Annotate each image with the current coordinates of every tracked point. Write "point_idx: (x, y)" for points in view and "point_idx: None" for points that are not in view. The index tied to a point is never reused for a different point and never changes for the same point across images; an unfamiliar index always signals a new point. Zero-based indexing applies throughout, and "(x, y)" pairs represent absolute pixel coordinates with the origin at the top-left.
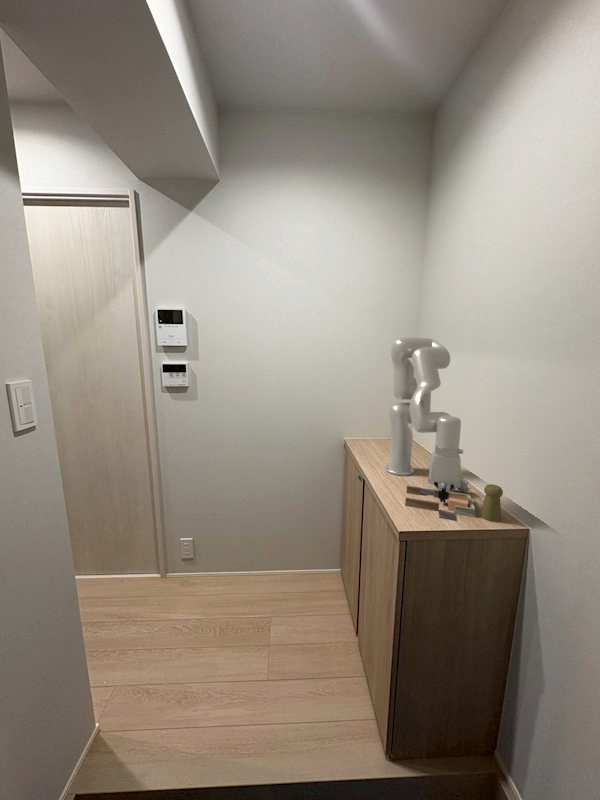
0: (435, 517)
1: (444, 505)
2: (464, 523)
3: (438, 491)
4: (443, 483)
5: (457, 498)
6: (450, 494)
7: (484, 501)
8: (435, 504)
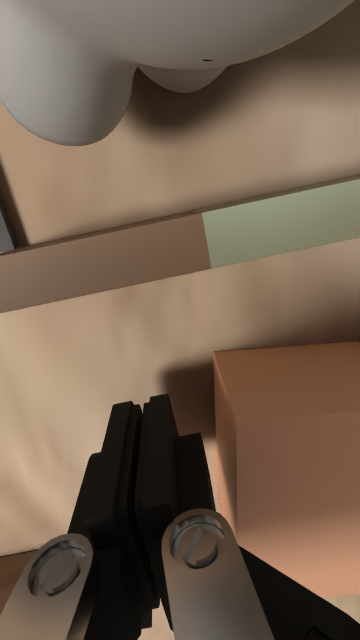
0: (152, 634)
1: (179, 430)
2: (340, 609)
3: (49, 301)
4: (42, 41)
5: (341, 520)
6: (248, 454)
7: None
8: None
